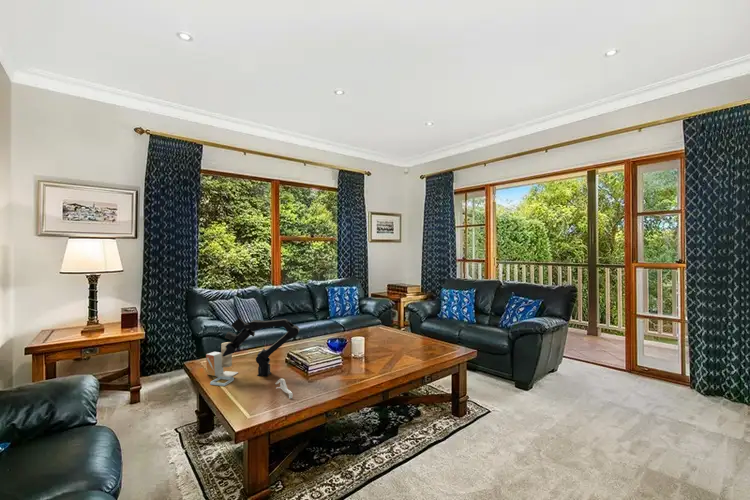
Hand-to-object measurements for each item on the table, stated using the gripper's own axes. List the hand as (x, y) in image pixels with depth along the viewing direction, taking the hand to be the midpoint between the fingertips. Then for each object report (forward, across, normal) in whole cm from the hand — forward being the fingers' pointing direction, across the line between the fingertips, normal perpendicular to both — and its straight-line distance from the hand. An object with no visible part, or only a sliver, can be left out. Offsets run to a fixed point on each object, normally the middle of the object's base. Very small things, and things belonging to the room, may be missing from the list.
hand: (224, 354), depth 221 cm
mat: (+8, -1, +11) cm, 14 cm away
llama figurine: (-18, +30, +38) cm, 52 cm away
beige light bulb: (+4, 0, +6) cm, 7 cm away
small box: (+14, -3, +5) cm, 15 cm away
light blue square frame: (+8, +11, +11) cm, 17 cm away
